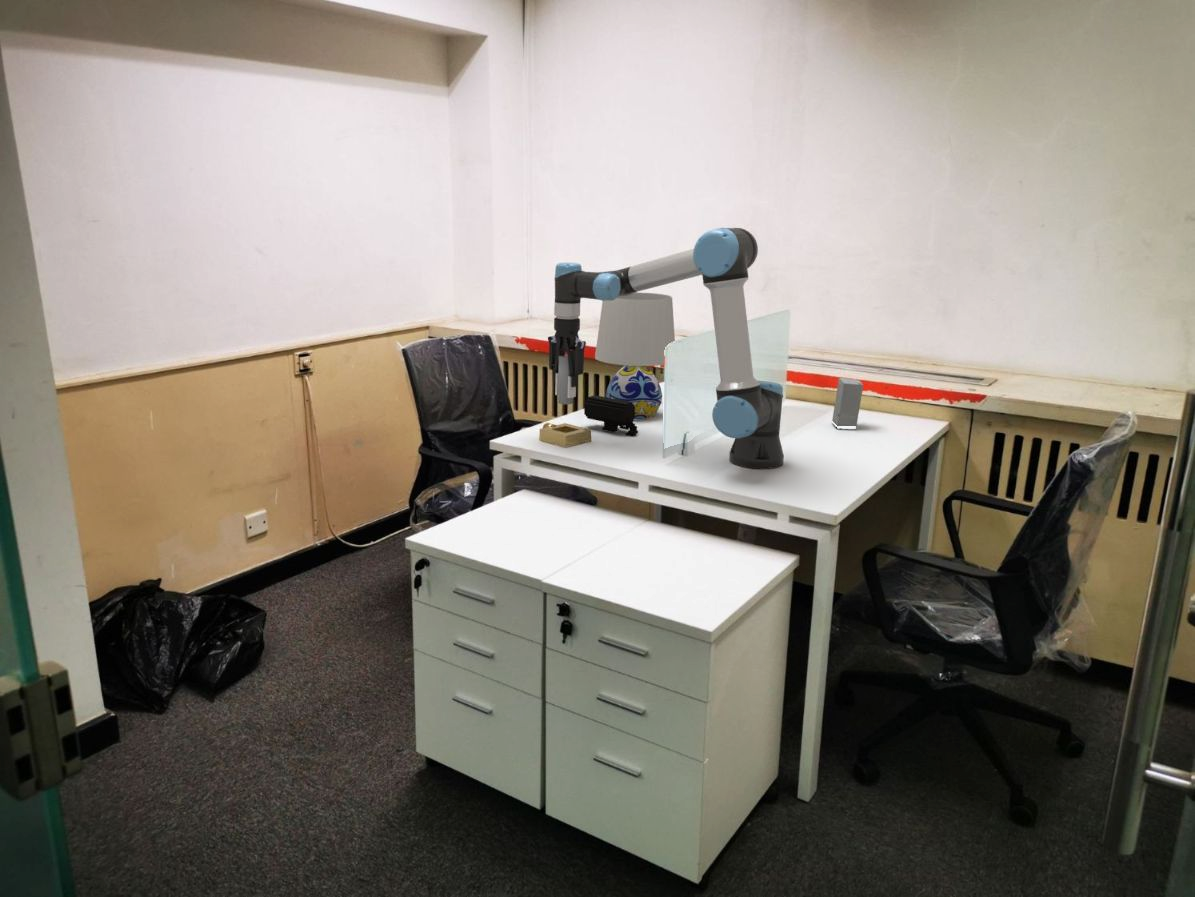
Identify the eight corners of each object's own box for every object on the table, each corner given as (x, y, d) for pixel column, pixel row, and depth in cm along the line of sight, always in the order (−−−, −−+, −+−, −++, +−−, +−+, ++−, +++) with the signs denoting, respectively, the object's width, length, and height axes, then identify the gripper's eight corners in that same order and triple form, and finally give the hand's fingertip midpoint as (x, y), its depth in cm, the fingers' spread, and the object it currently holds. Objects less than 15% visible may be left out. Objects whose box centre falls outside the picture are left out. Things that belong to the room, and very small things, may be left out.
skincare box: (831, 423, 300) (835, 377, 296) (852, 424, 300) (857, 377, 296) (836, 430, 292) (841, 382, 288) (859, 430, 292) (864, 382, 287)
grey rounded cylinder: (575, 402, 268) (576, 356, 264) (565, 405, 265) (566, 358, 261) (565, 400, 271) (566, 354, 267) (554, 402, 268) (555, 355, 264)
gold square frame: (591, 441, 272) (591, 428, 270) (565, 447, 264) (565, 434, 263) (559, 432, 280) (559, 420, 279) (533, 438, 272) (533, 425, 271)
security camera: (629, 438, 276) (630, 406, 273) (582, 428, 286) (582, 397, 284) (642, 434, 281) (643, 402, 278) (595, 424, 292) (595, 394, 289)
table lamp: (604, 426, 290) (608, 300, 279) (585, 407, 315) (587, 291, 304) (684, 422, 296) (691, 300, 285) (659, 404, 322) (664, 291, 311)
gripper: (598, 319, 258) (595, 399, 265) (555, 312, 269) (553, 389, 276) (579, 321, 253) (577, 402, 259) (536, 314, 264) (535, 392, 271)
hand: (565, 395), depth 268 cm, fingers closed on grey rounded cylinder, 4 cm apart
